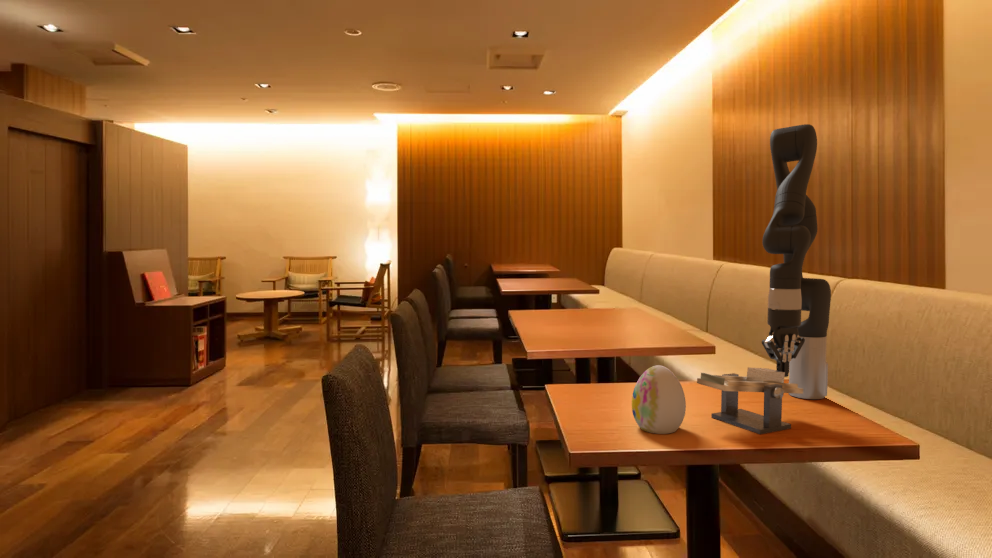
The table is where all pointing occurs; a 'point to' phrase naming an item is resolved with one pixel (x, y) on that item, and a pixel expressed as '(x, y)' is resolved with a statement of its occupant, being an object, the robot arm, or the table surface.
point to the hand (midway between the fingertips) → (782, 376)
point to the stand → (750, 419)
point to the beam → (742, 384)
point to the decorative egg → (658, 401)
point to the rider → (764, 375)
